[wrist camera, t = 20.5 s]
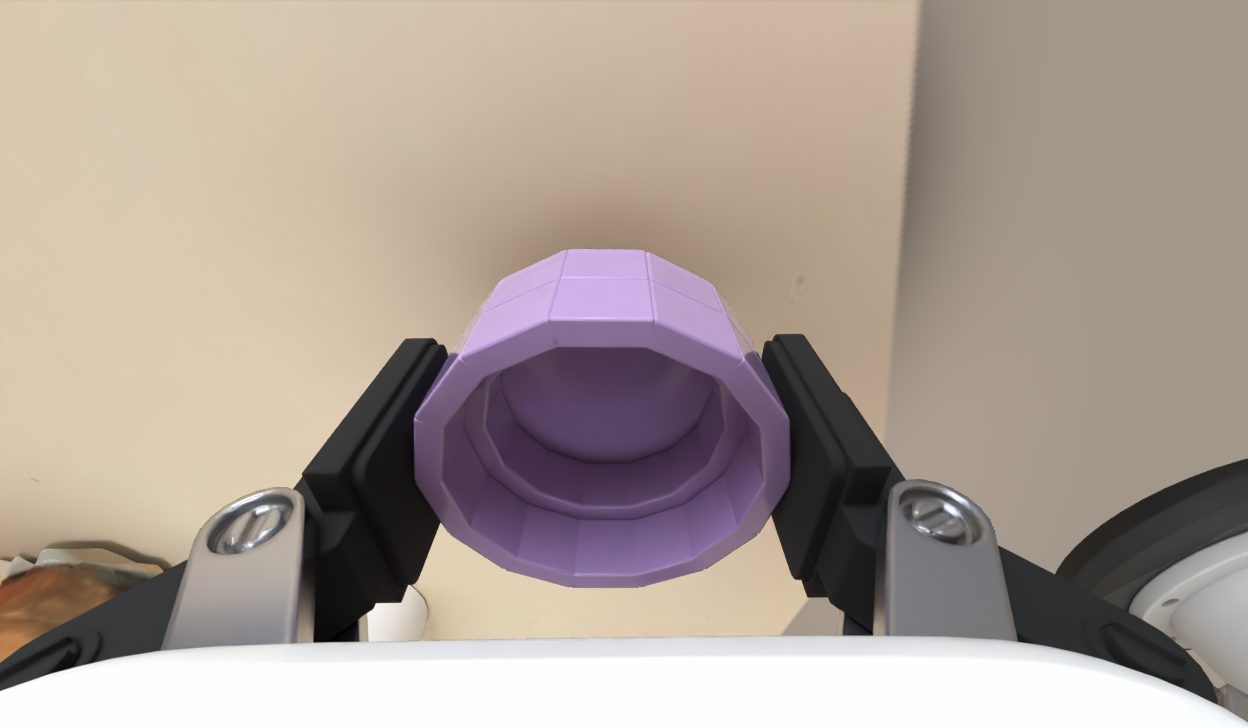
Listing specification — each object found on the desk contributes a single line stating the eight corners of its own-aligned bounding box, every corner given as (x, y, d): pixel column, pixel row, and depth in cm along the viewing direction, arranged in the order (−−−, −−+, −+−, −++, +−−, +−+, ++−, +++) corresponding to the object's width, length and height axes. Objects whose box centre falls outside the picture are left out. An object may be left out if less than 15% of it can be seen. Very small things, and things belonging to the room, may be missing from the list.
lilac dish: (520, 178, 9) (472, 236, 6) (807, 321, 10) (878, 418, 8) (433, 422, 12) (375, 536, 9) (663, 500, 14) (675, 617, 11)
